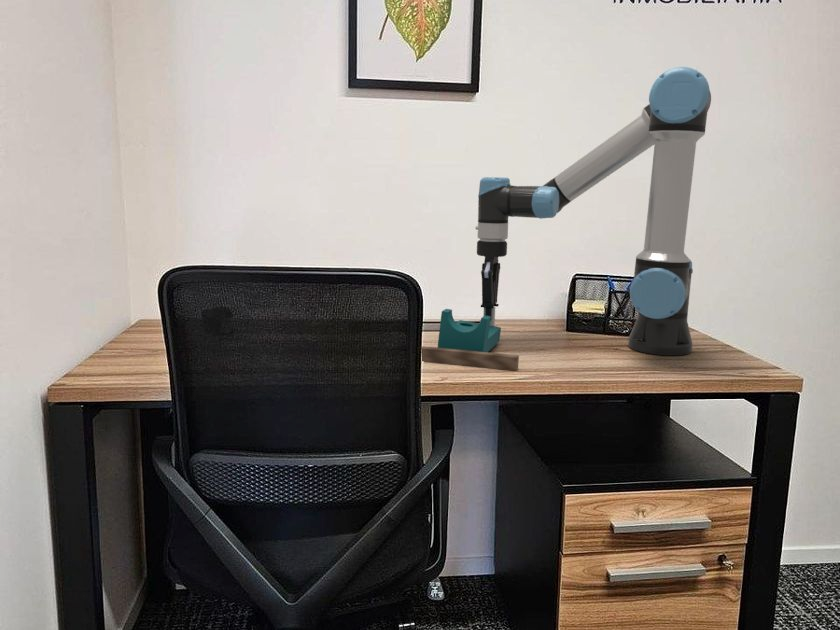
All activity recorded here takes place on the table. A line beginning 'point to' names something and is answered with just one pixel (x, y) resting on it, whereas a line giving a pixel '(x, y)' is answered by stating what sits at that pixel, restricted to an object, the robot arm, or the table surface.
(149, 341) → the table surface
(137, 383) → the table surface
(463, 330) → the teal notched cradle
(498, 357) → the walnut bar
